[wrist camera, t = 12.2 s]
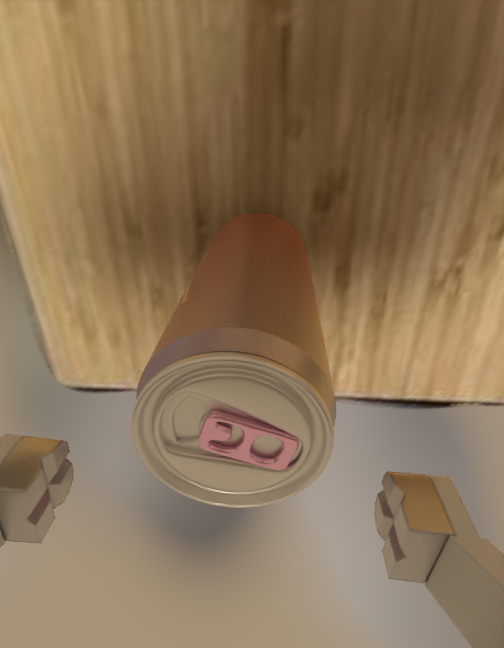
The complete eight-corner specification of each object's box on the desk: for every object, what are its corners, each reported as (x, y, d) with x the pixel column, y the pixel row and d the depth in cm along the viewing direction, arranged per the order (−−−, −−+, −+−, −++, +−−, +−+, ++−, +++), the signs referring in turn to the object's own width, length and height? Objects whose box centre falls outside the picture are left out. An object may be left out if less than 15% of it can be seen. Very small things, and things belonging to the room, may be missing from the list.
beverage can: (285, 315, 26) (292, 532, 12) (198, 286, 25) (108, 482, 12) (322, 229, 23) (382, 393, 10) (224, 195, 22) (145, 318, 9)
